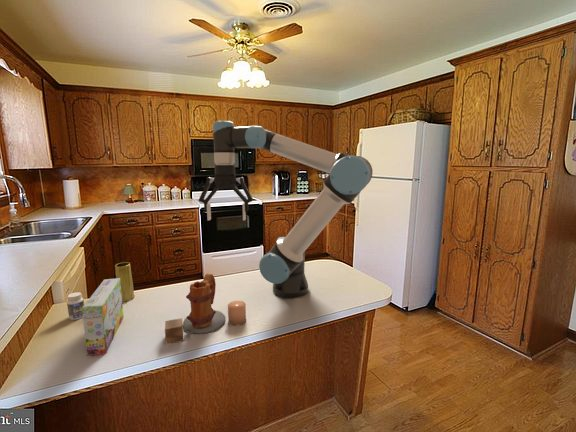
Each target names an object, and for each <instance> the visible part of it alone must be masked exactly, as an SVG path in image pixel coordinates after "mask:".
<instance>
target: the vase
mask: <svg viewBox="0 0 576 432" xmlns="http://www.w3.org/2000/svg"><path fill="white" fill-rule="evenodd" d="M131 267H132V266H131V262H127V261H124V262H123V261H122V262H119V263H116V264H115V265H114V269H115V279H116V278H120V282H121V294H122V303H123V302H129V301H131V300H133V299H134V298H135V292H134V283H133V276H132V268H131Z"/></svg>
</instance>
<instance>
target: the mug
mask: <svg viewBox="0 0 576 432" xmlns="http://www.w3.org/2000/svg"><path fill="white" fill-rule="evenodd" d="M215 295H216V279H215V276H214V275H213V273H206V274H205V275H204V277H203V280H200V281H195V282H193V283H191V284H190V285H189V293H188V294H187V295H186V296H185V298H186V299H188V301H189V303H190V313H189V315H187V316H186V317H187V319H188V320H190V322H191V323H192V326H193V327H196V328H203V327H206V326H208V325H210V324H211V322H212V318H213V317H214V314H215V313H216V311H217V310H216V311H214V308H212V305H214V300H215Z"/></svg>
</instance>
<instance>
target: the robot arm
mask: <svg viewBox="0 0 576 432" xmlns="http://www.w3.org/2000/svg"><path fill="white" fill-rule="evenodd" d="M212 129H213V130H212V131H213V132H212V137H213V138H212V139H213V157H214V158H213V159H214V162H213V163H214V164H215V165H214V177H210V176H209V177H206V182H205V185H204V188H203V190H202V191H201V193H200V196H199V199H198V201H199V202H200V203H203V211H204V212H205V213H206V217H207V220H206V221H211V220H212V213H211V212H212V211H211V206H212V205H211V202H209V201H210V200H211V199H212V197H214V196H215V194H216V193H217V192H218V190H233V191H234V193H236V194H237V196H238V198H240V200H241V201H242V202H243V203H242V221H246V220H247V217H246V216H247V213H248V211H249V203H251V202H253V200H254V199H253V197H252V195H251V193H250V191H249V188H248V186H247V185H246V183H245V179H244V177H243V176H241V177H237V176H236V165H235V163H236V155H235V154H236V153H235V149H261V150H263V151H267V152H269V153H272V154H275V155H277V156H280V157H283V158H286V159H289V160H291V161H294V162H298V163H299V164H302V165H306V166H308V167H311V168H313V169H316V170H319V171H321V172H325V173H327V174H328V175H327V176H326V178H325V179H324V180H323V182H322V183H323V189H322V190H321V192H319V194H318V195H317V196H316V198H315V199H314V200H313V202H311V204H310V205H309V206H308V207H307V209H306V210H305V212H304V213H303V214H302V215H301V217H300V218H299V219H298V220H297V222H296V223H295V225H294V226H292V228H291V229H290V231H289V232H288V234H286V236H280V237H278V238H277V239H276V242H275V243H274V244H273V246H272V247H271V248H270V249H269V251H268V252H267V253H265V254H264V255H262V257H261V259H260V260H259V264H258V268H259V272H260V274H261V276H262V277H263V279H265V280H266V281H267V282H268V283H271V284H272V292H273V294H274V295H276V296H278V297H281V298H287V299H295V298H300V297H304V296H305V295H307V294H308V292H309V283H308V280H307V276H306V273H305V259H306V258H305V257H306V256H305V254H306V252H305V251H306V250H307V249H308V248H309V247H310V246H311V244H312V243H313V242H314V241H315V240H316V239H317V237H318V236H319V235H320V233H322V231H323V230H324V229H325V228H326V226H327V225H328V224H329V223H330V222H331V220H333V218H334V217H335V215H337V214H338V212H339V211H340V209H342V208H343V206H344V205H351V204H352V202H353V201H354V200H355V199H356V198H357V197H358V195H359V194H361V192H362V191H363V190H364V189H365V188H366V187H367V186H368V185H369V183H370V182H371V180H372V177H373V166H372V164H371V163H370V162H369V160H368V159H366V158H365V157H363V156H360V155H354V154H351V155H350V154H347V153H344V152H339V153H334V152H332V151H329V150H327V149H323V148H319V147H317V146H314V145H311V144H308V143H305V142H303V141H300V140H297V139H295V138H294V139H293V138H291V137H288V136H285V135H282V134H279V133H276V132H273V131H271V130H269V129H266V128H265V129H264V127H263V126H260V125H250V126H249V125H248V126H235V125H234V122H233V121H232V120H216V121H214V122H213V126H212ZM237 182H238V183H239V184H240V187H241V188H242V190H243V191H244V193H242V191H241V190H240V189H239V188H238V186H236V183H237ZM213 183H215V184H216V185H215V186H214V188H213V189H212V190H211V192H210V193H209V194H208V191H209V189H210V187H211V184H213ZM207 194H208V196H206V195H207ZM244 194H245V195H244ZM246 212H247V213H246Z"/></svg>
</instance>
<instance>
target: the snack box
mask: <svg viewBox="0 0 576 432" xmlns="http://www.w3.org/2000/svg"><path fill="white" fill-rule="evenodd" d="M82 313H83V317H82V322H83V329H84V337H85V347H86V348H85V349H86V356H87V357H88V356H93V355H103V354H106V353H108V350H109V348H110V347H111V344H112V341H113V340H114V338H115V335H116V333H117V332H118V330H119V329H120V326H121V324H122V322H123V320H124V318H123V317H125V316H124V307H123V302H122V294H121V282H120V278H116V277H115V278H108V279H103V281H101V283H100V285H98V287H97V288H96V290H95V291H94V292H93V293H92V294H91V296H90V297H89V298H88V300H87V301H86V302H85V303H84V306H83V307H82Z"/></svg>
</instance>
